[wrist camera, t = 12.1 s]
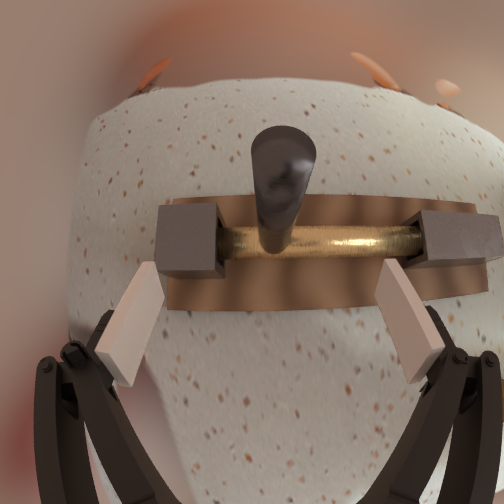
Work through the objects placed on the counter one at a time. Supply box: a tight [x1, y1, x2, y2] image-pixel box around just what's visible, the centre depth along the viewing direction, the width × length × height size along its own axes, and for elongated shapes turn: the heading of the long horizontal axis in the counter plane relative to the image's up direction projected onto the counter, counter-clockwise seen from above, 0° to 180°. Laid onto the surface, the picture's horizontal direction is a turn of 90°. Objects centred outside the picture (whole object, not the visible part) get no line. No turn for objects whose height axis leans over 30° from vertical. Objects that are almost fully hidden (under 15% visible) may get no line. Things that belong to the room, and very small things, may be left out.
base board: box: [167, 194, 488, 311], centre depth 32 cm, size 46×14×2 cm, turn 91°
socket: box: [154, 202, 226, 279], centre depth 29 cm, size 6×7×7 cm
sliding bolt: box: [217, 126, 424, 260], centre depth 21 cm, size 27×3×19 cm, turn 91°
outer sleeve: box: [399, 210, 504, 269], centre depth 28 cm, size 15×6×6 cm, turn 91°
